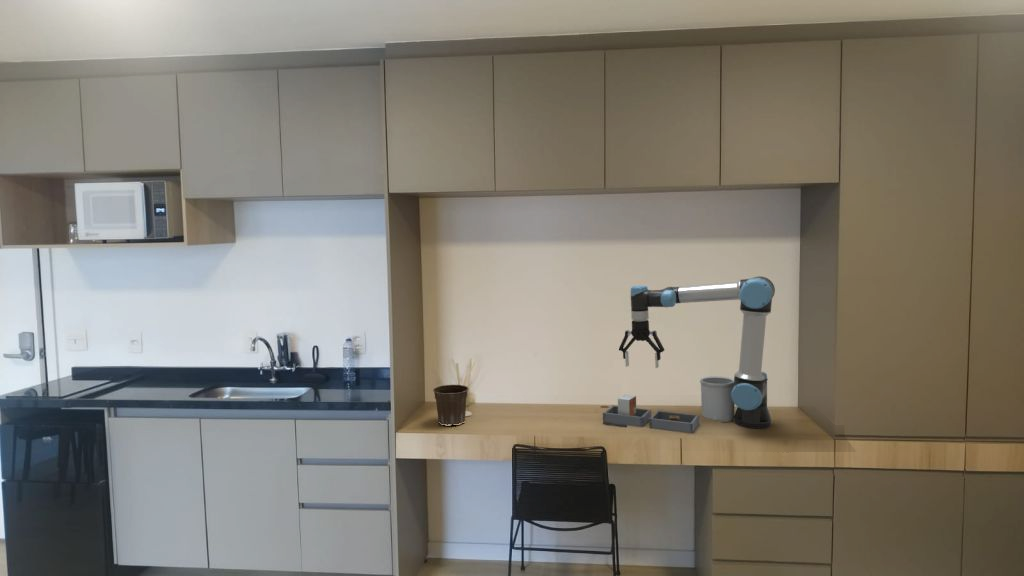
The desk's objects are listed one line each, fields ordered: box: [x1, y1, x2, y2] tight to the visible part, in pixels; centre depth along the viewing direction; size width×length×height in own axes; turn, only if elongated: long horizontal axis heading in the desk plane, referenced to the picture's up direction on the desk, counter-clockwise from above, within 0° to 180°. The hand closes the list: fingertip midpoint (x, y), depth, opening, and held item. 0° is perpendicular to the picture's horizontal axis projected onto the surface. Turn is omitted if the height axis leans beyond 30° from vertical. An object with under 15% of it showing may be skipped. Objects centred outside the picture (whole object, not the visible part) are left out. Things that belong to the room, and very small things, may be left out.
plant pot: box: [432, 384, 469, 425], centre depth 269 cm, size 16×16×16 cm
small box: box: [617, 394, 637, 416], centre depth 261 cm, size 8×6×10 cm
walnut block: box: [669, 415, 679, 421], centre depth 251 cm, size 4×4×4 cm
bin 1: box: [602, 405, 652, 428], centre depth 262 cm, size 18×13×5 cm
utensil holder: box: [699, 375, 736, 423], centre depth 263 cm, size 15×15×18 cm
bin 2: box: [648, 410, 700, 434], centre depth 251 cm, size 18×13×5 cm
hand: (641, 366), depth 264 cm, fingers open, 13 cm apart
